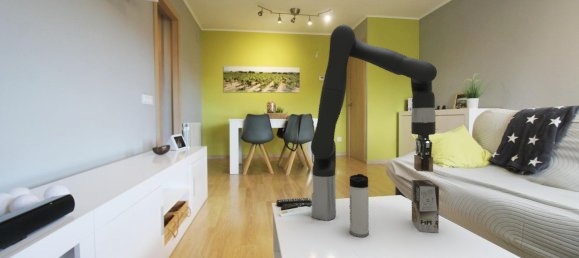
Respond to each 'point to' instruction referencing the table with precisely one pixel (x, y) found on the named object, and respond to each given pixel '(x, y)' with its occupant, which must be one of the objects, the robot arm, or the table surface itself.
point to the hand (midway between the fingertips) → (423, 168)
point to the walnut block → (418, 164)
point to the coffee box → (425, 205)
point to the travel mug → (359, 205)
